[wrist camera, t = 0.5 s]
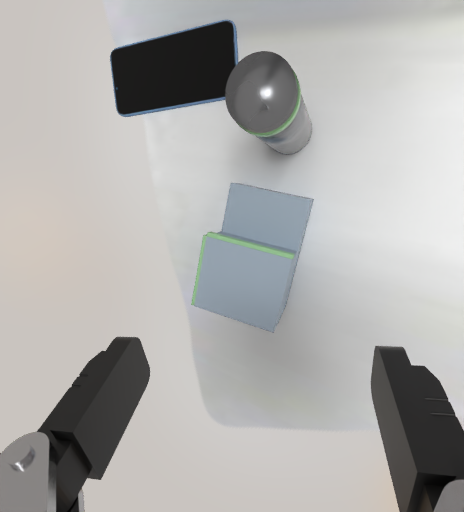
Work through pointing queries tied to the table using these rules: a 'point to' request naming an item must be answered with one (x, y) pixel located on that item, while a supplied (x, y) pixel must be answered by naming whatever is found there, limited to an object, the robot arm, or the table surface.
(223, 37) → the smartphone
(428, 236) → the table surface
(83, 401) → the robot arm
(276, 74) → the steel thermos flask
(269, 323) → the blue-grey stepped block
